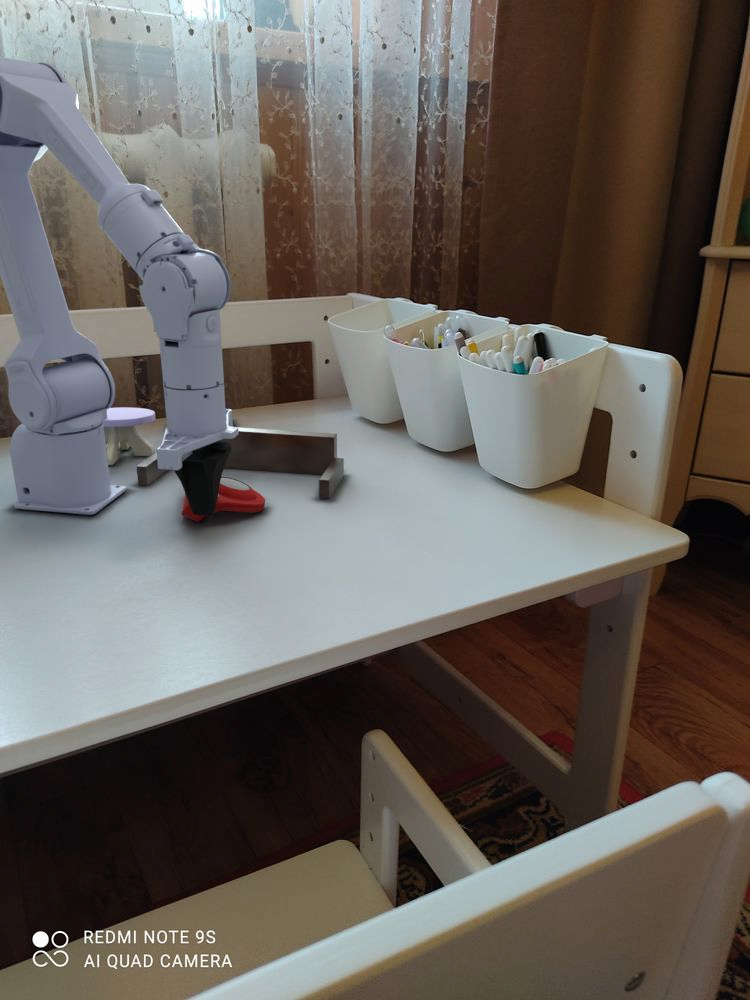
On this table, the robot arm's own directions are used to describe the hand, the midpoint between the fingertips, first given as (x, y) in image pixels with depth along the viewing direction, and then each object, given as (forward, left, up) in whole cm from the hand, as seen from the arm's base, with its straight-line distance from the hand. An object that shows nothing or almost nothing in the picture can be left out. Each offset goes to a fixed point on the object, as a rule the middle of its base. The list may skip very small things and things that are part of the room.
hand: (203, 513), depth 79 cm
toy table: (-20, +21, -2) cm, 29 cm away
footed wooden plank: (-1, +16, -2) cm, 16 cm away
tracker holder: (-1, +7, -2) cm, 7 cm away
